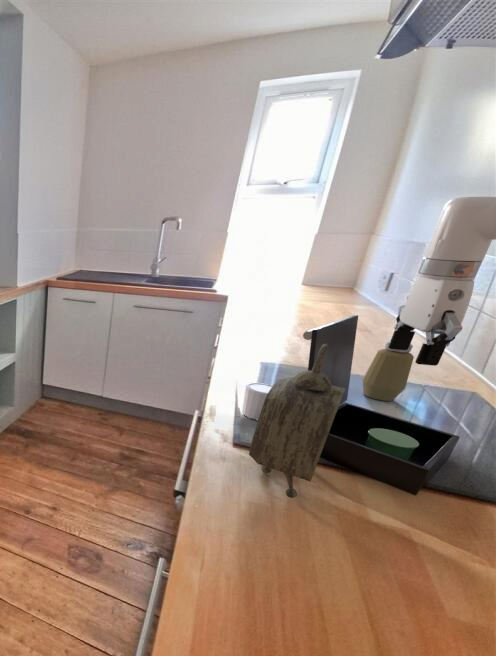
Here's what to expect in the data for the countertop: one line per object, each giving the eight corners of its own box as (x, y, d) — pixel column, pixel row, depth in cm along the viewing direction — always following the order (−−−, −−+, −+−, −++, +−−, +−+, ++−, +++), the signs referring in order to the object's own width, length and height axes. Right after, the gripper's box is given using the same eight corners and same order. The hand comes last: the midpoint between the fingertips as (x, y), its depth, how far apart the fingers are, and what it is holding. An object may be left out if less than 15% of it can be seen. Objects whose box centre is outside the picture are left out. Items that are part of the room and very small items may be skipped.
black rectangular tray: (446, 462, 78) (460, 436, 76) (413, 499, 69) (428, 470, 66) (335, 425, 92) (344, 402, 90) (294, 451, 82) (303, 425, 80)
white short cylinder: (232, 412, 98) (239, 385, 95) (250, 406, 101) (257, 380, 98) (261, 424, 92) (269, 396, 89) (279, 418, 95) (288, 390, 92)
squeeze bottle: (349, 392, 108) (375, 325, 101) (371, 388, 110) (397, 323, 103) (385, 405, 101) (415, 334, 94) (407, 401, 103) (438, 331, 96)
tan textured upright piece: (300, 507, 67) (354, 363, 57) (238, 484, 73) (277, 349, 63) (314, 470, 76) (363, 340, 66) (259, 451, 82) (295, 330, 72)
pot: (414, 461, 77) (424, 440, 76) (401, 473, 74) (412, 451, 72) (367, 444, 83) (375, 424, 81) (353, 455, 79) (362, 434, 78)
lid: (358, 315, 84) (329, 314, 88) (317, 329, 75) (287, 328, 79) (347, 400, 89) (320, 396, 93) (306, 424, 79) (278, 418, 83)
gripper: (511, 277, 68) (464, 373, 75) (443, 264, 83) (409, 345, 90) (453, 275, 70) (412, 369, 77) (397, 263, 85) (367, 342, 92)
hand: (410, 356), depth 83 cm, fingers open, 9 cm apart
